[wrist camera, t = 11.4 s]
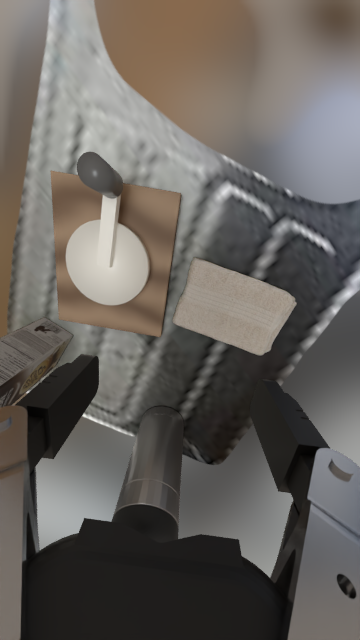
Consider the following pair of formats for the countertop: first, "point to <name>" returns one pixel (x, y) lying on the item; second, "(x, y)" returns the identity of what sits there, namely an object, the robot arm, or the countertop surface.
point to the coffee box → (29, 357)
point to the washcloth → (232, 307)
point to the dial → (106, 243)
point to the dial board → (142, 218)
